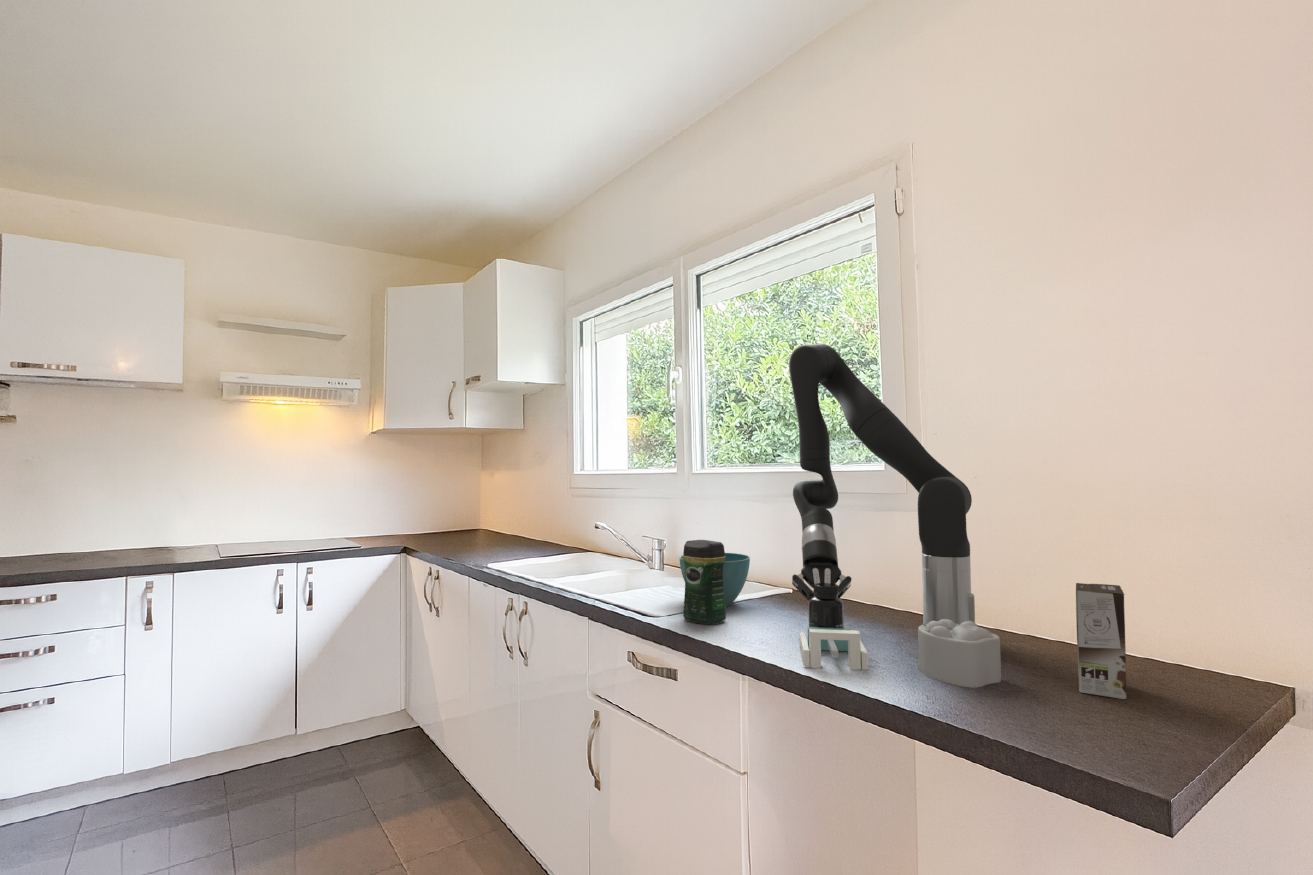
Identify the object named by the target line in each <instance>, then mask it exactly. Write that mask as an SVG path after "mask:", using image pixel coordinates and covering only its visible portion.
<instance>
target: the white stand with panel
mask: <svg viewBox="0 0 1313 875" xmlns="http://www.w3.org/2000/svg"><path fill="white" fill-rule="evenodd" d="M821 639H824V640H848V651H847V653H848V655H847V660H848V664H847V665H848V668H849V670H860V671H861V670H862V671H868V670H869V662H868V660H869V659H868V657H869V656H868V655H869V652H868V651H867V649H866V647H865V645H864V643H863V642H862V640H861V632H860V631H859V630H851V629H850V630H826V629H809V647H808V638H807V637H806V632H802V631H799V651H800V654H801V660H802V665H803V666H802V667H804V666H805V667H804V668H811V667H815V668H814V669H821V668H822V655H821V654H822V650H821Z"/></svg>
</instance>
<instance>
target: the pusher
mask: <svg viewBox="0 0 1313 875" xmlns="http://www.w3.org/2000/svg"><path fill="white" fill-rule="evenodd" d="M809 629H826V630H851V628H849V627H847V628H845V627H844V628H821V627H809V626H808V627H807V643H808V647H809ZM821 651H829V652H830V655H831V657H832V658H839V651H842V652H843V651H845V652H846V651H847V652H848V640H824V639H821Z"/></svg>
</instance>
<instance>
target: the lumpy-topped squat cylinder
mask: <svg viewBox="0 0 1313 875" xmlns="http://www.w3.org/2000/svg"><path fill="white" fill-rule="evenodd" d="M917 646H918V648H917V649H918V650H917V651H918V654H917V655H918V658H917V659H918V670H919V672H921V673H922V674H923V675H925V676H926V677H929V678H932V679H934V680H937V681H941V682H943V683H947V684H951V685H954V686H957V687H958V686H959V687H964V688H972V689H973V688H982V687H985V686H986V685H990V684H991V685H993V684H997V683H1001V681H1002V673H1001V672H1002V668H1001V667H1002V665H1001V664H1002V662H1001V661H1002V660H1001V638H1000V636H999V635H997V634H995V633H994V632H993V633H992V632H991V631H989V630H988V629H986V628H984V627H980V626H979V625H978V624H977V623H976V622H975V623H974V622H972V621H966V622H963V623H961V624H960V625H959V624H955V623H954V622H953V621H951V620H948V619H942V620H939V621H931V622H929V623H928V624H923V623H922V624H921V625H919V626H918V628H917Z"/></svg>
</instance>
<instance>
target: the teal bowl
mask: <svg viewBox="0 0 1313 875" xmlns="http://www.w3.org/2000/svg"><path fill="white" fill-rule="evenodd" d="M750 558H751V557H750V556H749V555H746V554H742V553H737V552H725V561H724V565H723V585H724V598H725V608H726V607H728V606H732V604H733V603H734V602H735V601H736V599H738V596H740V594H741V592H742V590H743V588H744V586H745V583H746V582H747V581H746V580H747V579H748V578H747V577H748V575H749V569H750V563H751V562H750V561H751V559H750ZM679 565H680V566H679V567H680V571H681V575H682V577H683V581H684V582H685V563H684V559H683V554H682V555H680V556H679Z"/></svg>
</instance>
